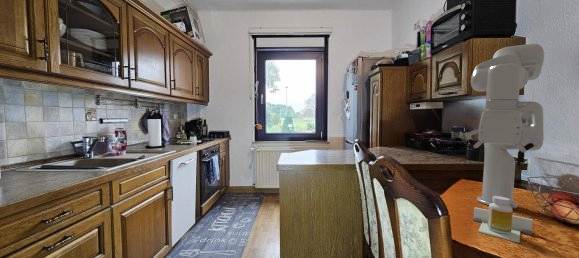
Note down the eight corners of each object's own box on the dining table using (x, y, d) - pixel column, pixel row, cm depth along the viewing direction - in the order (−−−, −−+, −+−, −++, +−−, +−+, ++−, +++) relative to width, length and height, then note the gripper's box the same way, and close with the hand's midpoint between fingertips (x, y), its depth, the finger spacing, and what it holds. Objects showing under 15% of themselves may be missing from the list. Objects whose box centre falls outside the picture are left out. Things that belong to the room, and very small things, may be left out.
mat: (482, 223, 82) (482, 222, 82) (520, 232, 76) (520, 231, 76) (478, 232, 75) (478, 230, 75) (519, 242, 69) (519, 241, 69)
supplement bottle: (515, 235, 72) (518, 201, 72) (494, 233, 73) (497, 199, 73) (502, 227, 78) (505, 195, 78) (483, 225, 79) (485, 194, 78)
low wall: (474, 218, 86) (475, 206, 86) (531, 231, 76) (532, 218, 76) (472, 220, 84) (473, 208, 84) (531, 234, 74) (532, 221, 74)
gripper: (540, 106, 74) (536, 164, 75) (468, 106, 85) (465, 157, 87) (542, 106, 68) (537, 169, 70) (464, 106, 80) (461, 160, 81)
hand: (497, 162), depth 78 cm, fingers open, 9 cm apart
